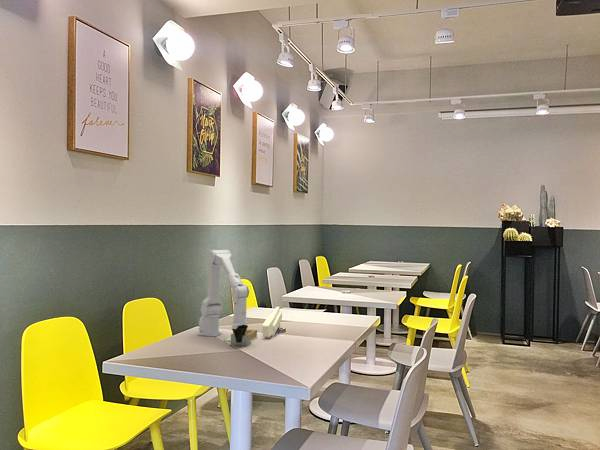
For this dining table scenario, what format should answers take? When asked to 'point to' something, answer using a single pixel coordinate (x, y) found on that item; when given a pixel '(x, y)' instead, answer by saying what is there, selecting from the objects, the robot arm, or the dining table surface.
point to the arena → (251, 334)
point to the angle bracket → (244, 341)
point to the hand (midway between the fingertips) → (239, 341)
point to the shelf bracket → (272, 323)
